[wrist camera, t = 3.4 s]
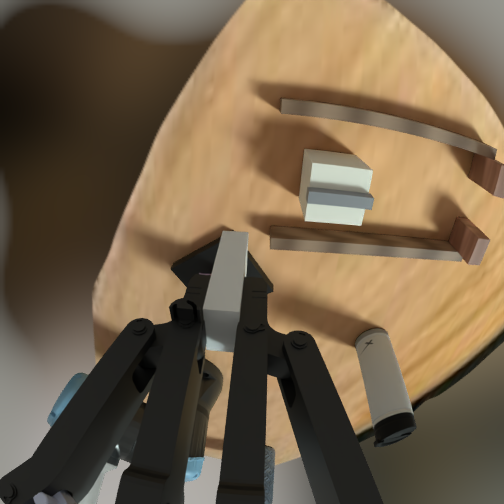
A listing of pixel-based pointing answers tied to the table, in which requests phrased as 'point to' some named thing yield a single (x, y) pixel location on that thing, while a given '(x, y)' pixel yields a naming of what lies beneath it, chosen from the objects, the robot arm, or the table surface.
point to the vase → (269, 474)
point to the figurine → (204, 263)
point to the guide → (343, 242)
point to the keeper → (334, 187)
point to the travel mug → (384, 388)
